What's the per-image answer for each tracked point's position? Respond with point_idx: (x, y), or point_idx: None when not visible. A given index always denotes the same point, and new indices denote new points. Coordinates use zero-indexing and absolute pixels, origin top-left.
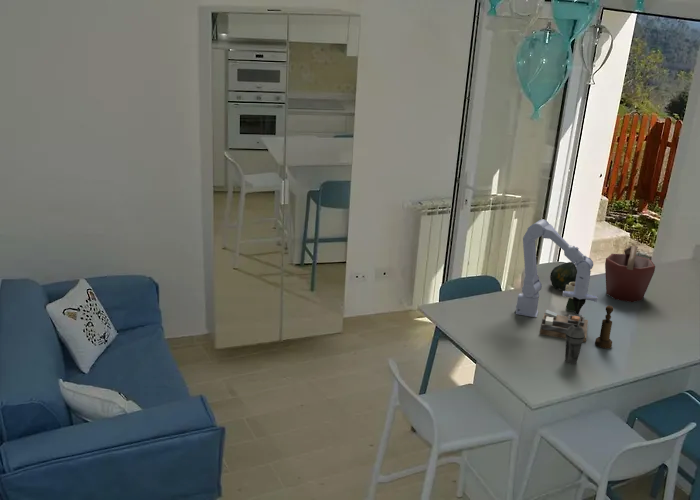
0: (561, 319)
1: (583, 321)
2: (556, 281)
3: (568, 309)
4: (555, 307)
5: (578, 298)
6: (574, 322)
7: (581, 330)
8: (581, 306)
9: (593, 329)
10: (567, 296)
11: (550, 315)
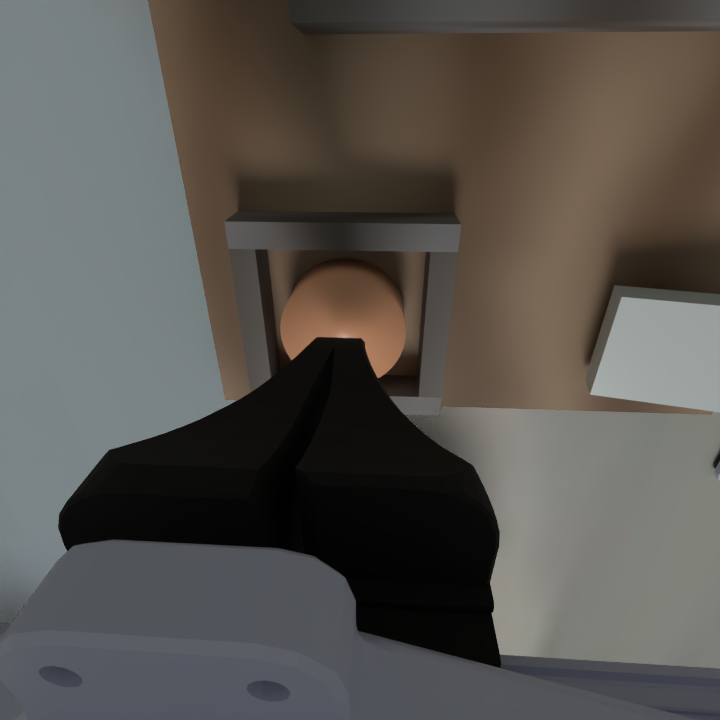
0: (528, 299)
1: (240, 268)
2: None
3: None
4: (520, 577)
5: (258, 563)
6: (361, 218)
7: None
8: (233, 408)
9: (152, 267)
10: (691, 672)
11: (709, 298)
